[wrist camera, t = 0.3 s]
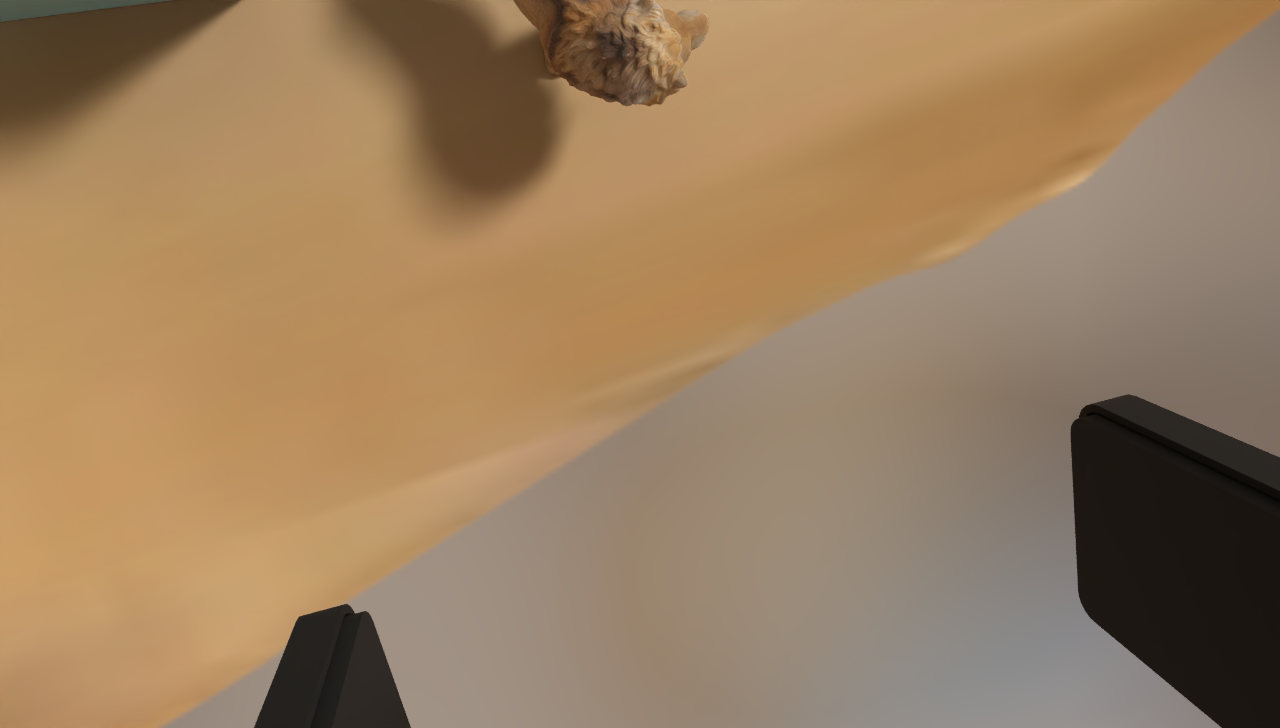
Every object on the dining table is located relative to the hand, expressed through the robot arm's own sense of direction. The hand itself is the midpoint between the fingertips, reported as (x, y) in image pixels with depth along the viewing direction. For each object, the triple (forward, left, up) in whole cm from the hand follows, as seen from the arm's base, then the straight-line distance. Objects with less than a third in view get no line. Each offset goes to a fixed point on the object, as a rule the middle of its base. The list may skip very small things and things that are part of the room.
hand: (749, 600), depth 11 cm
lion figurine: (-12, +1, -31) cm, 33 cm away
